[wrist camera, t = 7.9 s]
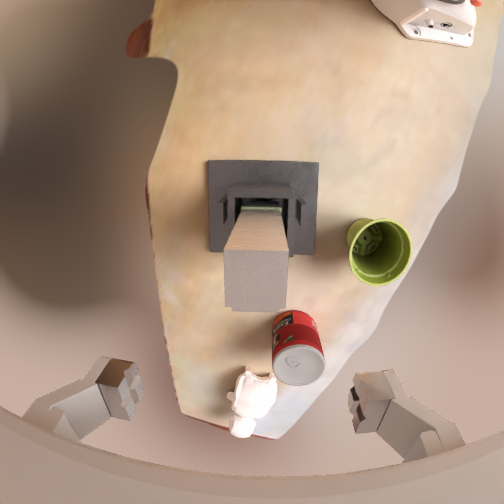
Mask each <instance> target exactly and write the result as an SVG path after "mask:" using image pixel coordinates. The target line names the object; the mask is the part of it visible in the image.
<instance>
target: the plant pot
mask: <svg viewBox="0 0 504 504" xmlns="http://www.w3.org/2000/svg"><path fill="white" fill-rule="evenodd" d="M372 225H374V226H375V227H376V228H377V231H376V230H375V229H374V227H373V226H372ZM364 236H366V239H364V238H363V237H364ZM346 241H347V245H348V248H349V264H350V267H351V270H352V272H353V273H354V275H355V276H356V277H357V278H358V279H359V280H360V281H362V282H363V283H365V284H368V285H371V286H382V285H387V284H389V283H391V282H393V281H395V280H396V279H398V278H399V277H400V276H401V275H402V274H403V272H404V271H405V270H406V268H407V266H408V264H409V262H410V259H411V255H412V242H411V238H410V235H409V233H408V232H407V230H406V229H405V228H404V227H403V226H402V225H401V224H400V223H398V222H396V221H394V220H391V219H377V220H372V219H359V220H357V221H355V222H354V223H353V224H352V225H351V226H350V228H349V229H348V232H347V237H346ZM374 245H375V247H374V248H373V249H372V250H369V249H370V248H371V247H373V246H374ZM353 246H354V247H355V248H356V249H357V250H354V249H353Z"/></svg>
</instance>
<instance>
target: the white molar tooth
mask: <svg viewBox="0 0 504 504" xmlns="http://www.w3.org/2000/svg"><path fill="white" fill-rule="evenodd" d="M276 380H277V379H276V378H275V374H273V373H270V375H269V377H259V376H256V375H255V374H253V373H252V372H251V369H250V367H246V368H245V372H244V373H242V374H241V375H239V377H238V378H237V381H236V386H235V391H234V392H228V393H227V396H226V397H227V398H228V399H229V400H231V401H232V408H231V409H232V410H233V411H234V412H235V413H234V414H233V415H232V417H231V420H230V422H229V430H230V433H231V434H232V435H234V436H236V437H240V438H246V437H249V436H250V435H251V434H252V432H253V431H254V427H255V425H256V423H255V420H254V419H256V418H261V417H263V416H264V415H265V414H266V413H267V412H268V410H269V409H270V407H271V406H272V405H273V403H274V402H275V399H276V393H277V383H276Z"/></svg>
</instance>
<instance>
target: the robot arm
mask: <svg viewBox="0 0 504 504" xmlns="http://www.w3.org/2000/svg"><path fill="white" fill-rule="evenodd" d="M371 1H372V3H373V4H374V5H375V6H376V7H377V9H378V10H379V11H380V12H382V13H383V14H384V15H385V16H386V17H388V18H389V19H390V20H392V21H393V22H394V23H395V24H396V25H397V26H398V28H399V29H400V31H401V32H402V33H403V34H404V35H405V36H406V37H407V38H409V39H415V40H424V41H432V42H439V43H445V44H451V45H456V46H462V47H470V46H471V44H472V42H473V38H474V27H475V25H476V11H475V7H474V6H481V5H482V2H481V0H371ZM414 31H415V32H416V34H415V33H414ZM468 35H469V36H468ZM138 372H139V368H138V365H137V364H136V363H135V362H130V361H125V360H119V359H115V358H109V357H104V356H102V357H100V358H99V359H98V360H97V362H96V363H95V364H94V366H93V367H92V368H91V370H90V371H89V372H88V374H87V375H86V377H85V378H84V379H83V380H78V381H76V382H73V383H71V384H69V385H67V386H65V387H62V388H60V389H58V390H56V391H54V392H51V393H49V394H47V395H44V396H42V397H40V398H38V399H36V400H35V401H34V402H33V404H32V405H31V406H30V408H29V409H28V410H27V411H26V413H25V414H24V415H23V417H20V416H18V415H16V414H14V413H12V412H10V411H8V410H6V409H4V408H3V407H1V406H0V504H504V430H502V431H499V432H497V433H495V434H493V435H490V436H488V437H485V438H483V439H480V440H478V441H475V442H473V443H470V444H467V445H466V444H465V442H464V440H463V438H462V436H461V434H460V432H459V430H458V428H457V427H456V425H455V423H453V422H452V421H450V420H448V419H447V418H445V417H443V416H442V415H440V414H438V413H437V412H435V411H434V410H432V409H430V408H429V407H427V406H425V405H424V404H422V403H421V402H419V401H417V400H416V399H414V398H413V397H407V394H406V392H405V390H404V388H403V386H402V385H401V382H400V380H399V378H398V376H397V374H396V372H395V371H394V370H393V369H391V370H382V371H373V372H362V373H356V374H355V376H354V379H353V383H354V387H352V388H351V389H350V392H349V398H348V405H349V410H350V412H351V413H352V414H353V415H354V417H353V420H352V422H353V426H354V430H355V433H356V434H357V433H369V432H377V434H378V435H379V436H381V437H382V438H383V439H384V440H385V441H386V442H387V443H388V444H389V445H390V446H391V447H392V448H393V449H394V450H395V451H396V452H398V453H399V454H400V455H401V456H402V457H403V458H404V461H403V462H402V463H401V464H396V465H391V466H386V467H381V468H375V469H368V470H362V471H354V472H347V473H337V474H326V475H313V476H285V477H271V476H269V477H268V476H267V477H266V476H265V477H264V476H242V475H228V474H218V473H209V472H200V471H193V470H186V469H180V468H174V467H169V466H164V465H159V464H154V463H150V462H145V461H141V460H137V459H132V458H129V457H125V456H121V455H118V454H114V453H111V452H107V451H104V450H101V449H98V448H94V447H92V446H89V445H86V444H83V443H81V441H80V439H82V438H83V437H85V436H86V435H88V434H89V433H91V432H92V431H93V430H95V429H96V428H98V427H99V426H100V425H102V424H103V423H105V422H106V421H107V420H109V419H110V418H111V417H115V418H119V419H124V420H129V421H130V420H131V418H132V416H133V414H134V412H135V410H136V408H135V405H134V404H135V403H137V402H139V401H140V399H141V397H142V393H143V383H142V379H141V378H140V377H139V376H138V375H137V374H138Z"/></svg>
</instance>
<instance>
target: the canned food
mask: <svg viewBox="0 0 504 504" xmlns="http://www.w3.org/2000/svg"><path fill="white" fill-rule="evenodd" d="M272 368H273V372H274V374H275V376H276V377H277V378H278V379H279V380H280V381H281V382H283V383H285V384H288V385H293V386H302V385H307V384H310V383H312V382H314V381H316V380H317V379H318V378H319V377H320V376H321V375H322V374H323V372H324V369H325V359H324V354H323V350H322V346H321V342H320V338H319V334H318V331H317V327H316V324H315V322H314V320H313V319H312V318H311V317H310V316H309V315H308V314H306V313H304V312H301V311H288V312H285V313H283V314H281V315H280V316H279V317H278V318H277V319H276V320H275V322H274V324H273V327H272Z"/></svg>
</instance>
